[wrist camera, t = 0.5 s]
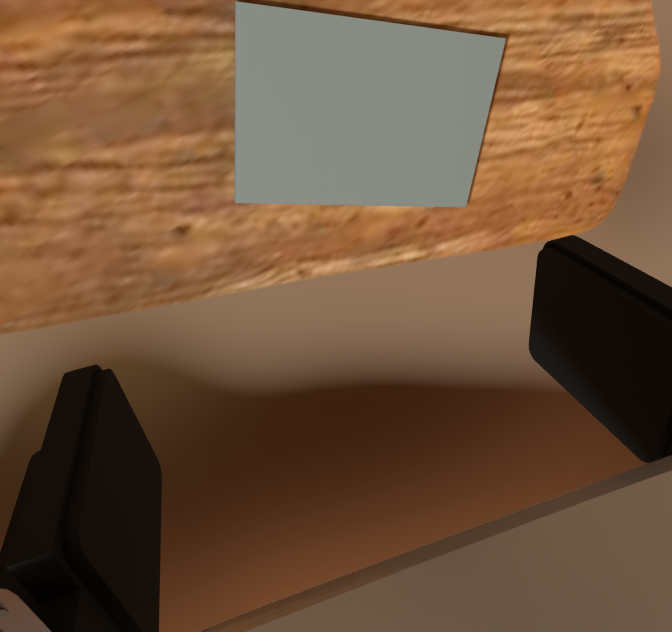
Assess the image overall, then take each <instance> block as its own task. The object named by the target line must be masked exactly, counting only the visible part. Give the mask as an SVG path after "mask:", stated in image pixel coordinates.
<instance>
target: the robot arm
mask: <svg viewBox="0 0 672 632" xmlns="http://www.w3.org/2000/svg"><path fill="white" fill-rule="evenodd" d="M529 351H530V353H531V355H532V357H533V359H534V360H535V361H536V362H537V363H538V364H539V365H540V366H541V367H542V368H543V369H544V370H546V371H547V372H548V373H549V374H550V375H551V376H552V377H553V378H554V379H555V380H556V381H557V382H558V383H559V384H560V385H561V386H563V387H564V388H565V389H566V390H567V391H568V392H569V393H570V394H571V395H572V396H573V397H574V398H575V399H577V401H579V403H581V404H582V405H583V406H584V407H585V408H586V409H587V410H588V411H589V412H590V413H591V414H592V415H593V416H594V417H595V418H596V419H598V420H599V421H600V422H601V423H602V424H603V425H604V426H605V427H606V428H607V429H608V430H609V431H610V432H611V433H612V434H614V436H616V437H617V438H618V439H619V440H620V441H621V442H622V443H623V444H624V445H625V446H626V447H627V448H628V449H629V450H630V451H632V452H633V453H634V454H635V455H636V456H637V457H638V458H639V459H640V460H642V461H644V462H646V463H649V464H646V465H643V466H640V467H638V468H635V469H632V470H629V471H627V472H624V473H621V474H618V475H615V476H613V477H610V478H607V479H604V480H602V481H599V482H596V483H594V484H591V485H588V486H585V487H582V488H580V489H577V490H574V491H571V492H569V493H566V494H563V495H561V496H558V497H555V498H553V499H550V500H547V501H544V502H541V503H539V504H536V505H533V506H530V507H528V508H525V509H523V510H520V511H517V512H514V513H511V514H509V515H506V516H503V517H501V518H498V519H495V520H492V521H490V522H487V523H484V524H482V525H479V526H476V527H473V528H471V529H468V530H465V531H463V532H460V533H457V534H454V535H452V536H449V537H446V538H444V539H441V540H438V541H436V542H433V543H430V544H427V545H425V546H422V547H419V548H417V549H414V550H411V551H409V552H406V553H403V554H401V555H398V556H396V557H393V558H390V559H387V560H385V561H382V562H379V563H377V564H374V565H371V566H369V567H366V568H363V569H360V570H358V571H355V572H352V573H350V574H347V575H344V576H342V577H339V578H336V579H334V580H331V581H328V582H326V583H323V584H321V585H318V586H315V587H312V588H310V589H307V590H304V591H302V592H299V593H296V594H294V595H291V596H288V597H286V598H283V599H280V600H278V601H275V602H273V603H270V604H268V605H265V606H262V607H260V608H258V609H255V610H252V611H250V612H247V613H245V614H242V615H240V616H237V617H234V618H232V619H230V620H227V621H224V622H222V623H219V624H217V625H214V626H212V627H209V628H207V629H204V630H201V631H199V632H672V287H670V286H668V285H666V284H664V283H662V282H661V281H659V280H657V279H655V278H653V277H652V276H649V275H648V274H646V273H644V272H642V271H640V270H639V269H637V268H635V267H633V266H631V265H629V264H627V263H625V262H624V261H622V260H620V259H618V258H616V257H614V256H612V255H611V254H609V253H607V252H605V251H603V250H601V249H600V248H598V247H596V246H594V245H592V244H590V243H588V242H587V241H585V240H583V239H581V238H579V237H577V236H574V235H571V236H566V237H563V238H559V239H555V240H552V241H548V242H547V243H546V244H545V245H544V247H543V250H541V251H540V252H539V254H538V258H537V268H536V278H535V287H534V297H533V308H532V317H531V327H530V337H529ZM161 489H162V474H161V468H160V464H159V461H158V459H157V457H156V455H155V453H154V451H153V449H152V447H151V445H150V443H149V441H148V439H147V437H146V435H145V433H144V431H143V429H142V427H141V425H140V423H139V421H138V419H137V418H136V416H135V414H134V412H133V410H132V408H131V406H130V404H129V402H128V400H127V398H126V396H125V394H124V392H123V390H122V388H121V386H120V384H119V382H118V380H117V378H116V376H115V374H114V373H113V371H112V370H111V369H106V370H102V369H101V368H100V367H99V366H98V365H92V366H88V367H85V368H81V369H77V370H74V371H70V372H67V373H65V374H64V376H63V378H62V382H61V385H60V388H59V391H58V395H57V398H56V401H55V404H54V408H53V411H52V415H51V418H50V421H49V424H48V428H47V431H46V434H45V438H44V441H43V444H42V448H41V451H38V452H36V453H35V454H34V455H32V458H31V460H30V462H29V464H28V467H27V471H26V474H25V477H24V480H23V483H22V486H21V490H20V493H19V496H18V499H17V502H16V505H15V508H14V511H13V515H12V517H11V521H10V524H9V527H8V530H7V533H6V536H5V539H4V543H3V546H2V549H1V552H0V632H159V594H160V543H161V495H162V493H161V492H162V490H161Z"/></svg>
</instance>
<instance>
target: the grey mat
mask: <svg viewBox="0 0 672 632" xmlns="http://www.w3.org/2000/svg"><path fill="white" fill-rule="evenodd" d="M505 41H506V38H499V37H492V36H484V35H477V34H470V33H462V32H455V31H448V30H441V29H433V28H426V27H419V26H412V25H404V24H397V23H390V22H382V21H375V20H368V19H361V18H353V17H346V16H339V15H332V14H324V13H317V12H310V11H303V10H295V9H288V8H281V7H273V6H266V5H259V4H252V3H244V2H237V1H236V2H235V203H262V204H315V205H369V206H422V207H466V205H467V201H468V197H469V193H470V188H471V184H472V180H473V176H474V171H475V167H476V163H477V159H478V155H479V150H480V146H481V142H482V138H483V134H484V129H485V125H486V121H487V117H488V113H489V108H490V104H491V100H492V96H493V91H494V87H495V83H496V79H497V75H498V70H499V66H500V62H501V58H502V54H503V49H504V45H505Z"/></svg>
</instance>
